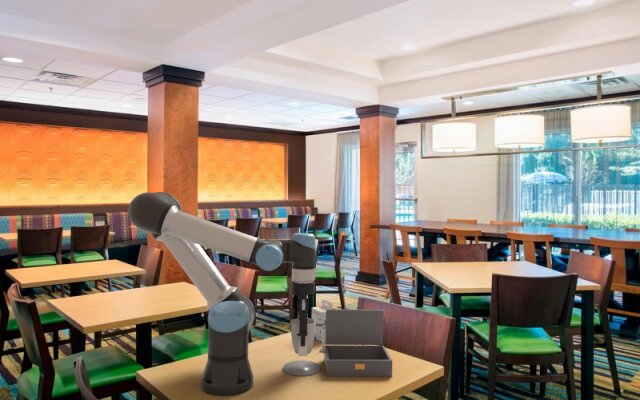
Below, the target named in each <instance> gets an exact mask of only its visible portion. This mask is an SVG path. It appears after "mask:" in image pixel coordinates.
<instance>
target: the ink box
mask: <svg viewBox="0 0 640 400" xmlns="http://www.w3.org/2000/svg"><path fill="white" fill-rule="evenodd" d="M333 305H334V304H333V303H332V302H330V301H329V300H327V299H323V298H322V299H321V306H314V307H311V319H313V320H315V321H316V323H315V335H314V340H317V341H318V340H319V342H320V341H321V342H320V343H322V326H326V309H333ZM325 336H326V329H324V343H325Z"/></svg>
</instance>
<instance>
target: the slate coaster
mask: <svg viewBox="0 0 640 400" xmlns="http://www.w3.org/2000/svg"><path fill="white" fill-rule="evenodd" d="M282 367H283V368H282V369H283V372H285V373H286V374H288V375H291V376H296V377H297V376H298V377H308V376H313V375H316V374H318V373H319V372H320V371H321V365H319V363H317V362H315V361H312V360H302V359H301V360H300V359H299V360H292V361H289V362H286V363H285V364H283V366H282Z"/></svg>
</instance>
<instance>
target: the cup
mask: <svg viewBox="0 0 640 400" xmlns="http://www.w3.org/2000/svg"><path fill="white" fill-rule="evenodd" d="M315 323H316V321H315V320H313V319H312V318H308V317H307V333H308V334H307V355H309V354H311V351H312V348H313V345H314V340H315V338H314V335H315ZM301 332H305V331H301ZM297 334H299V317H298V318H297V317H296V318H293V319H291V320H290V336H291V341H292V343H291V344H292V348H293V350H294V353H295V354H296V355H298V350H299V336H297Z"/></svg>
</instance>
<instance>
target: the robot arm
mask: <svg viewBox="0 0 640 400" xmlns="http://www.w3.org/2000/svg"><path fill="white" fill-rule="evenodd" d="M181 207H182V206H181V204H180V202H179V200H177V198H176V197H174V195H172V194H169V193H168V192H164V191H163V192H162V191H156V192H152V191H151V192H150V191H148V192H142V193H140V194H137V195H136V196H135V197H133V199H132V200H131V201H130V203H129V205H128V210H127V213H128V215H127V216H128V217H129V221H130V222H131V223H132V224H133V226H134V227H136V228H137V229H139V230H142V231H144V232H148V233H150V234H151V236H152V237H153V238H154V240H156V242H157V241H158V242H162V243H164V245H165V246H166V248H167V249H168V251H169V252H170V253H171V254H172V256H173V257H174V258H175V261H177V263H178V264H179V266H180V267H181V268H182V270H183V271H184V272H185V274H186V275H187V276H188V278H189V280H190V281H191V282H192V283H193V285H194V286H195V287H196V288H197V290H198V292H199V293H200V294H201V296H202V298H204V299H205V301H206V303H207V305H206V311H207V313H208V316H207V323H208V328H207V330H208V331H207V332H208V333H207V334H208V335H207V336H208V337H207V360H206V364H205V367H204V370H203V373H202V376H201V380H200V381H201V382H200V389H201V390H202V391H204V392H205V393H208V394H210V395H215V396H233V395H237V394H241V393H242V394H243V393H244V392H247V391H249V390H250V389H251V388H252V387H253V386H254V373H253V369H252V367H251V364H250V360H249V332H250V330H251V328H252V326H253V325H254V322H255V318H256V317H255V316H256V311H255V307H254V304H253V302H252V301H251V300H250V299H249V298H248V297H246V296H244V295H243V294H242V292H241V291H240V290H239V289H238V287H237V286H233V285H232V286H231V285H229V283H228V282H227V280H226V279H225V278H224V276H223V275H222V274H221V272H220V270H219V269H218V268H217V267H216V265H215V264H214V262H213V261H212V260H211V258H210V256H208V255H207V253H206V251H205V250H204V249H203V247H204V248H207V249H210V250H213V251H216V252H218V253H222V254H225V255H227V256H229V257H230V256H231V257H234V258H237V259H239V260H243V261H245V262H248V263H250V264H253V265H256V266H258V267H259V268H260V269H261V270H263V271H267V272H269V271H270V272H271V271H274V270H275V269H277V268H278V267H280V265H282V264H283V263H284V264H285V263H286V264H287V263H289V264H292V266H291V280H292V282H291V293H292V294H293V295H298V297H297V299H296V301H297V302H296V303H297V314H298V315H299V316H298V318H299V334H297V336H299V350H298V354H297V355H298V357H307V356H308V354H307V334H308V333H307V318H308V315H309V310H310V309H309V308H310V307H309V306H310V297H308V295H311V296H312V295H313V294H315V292H316V282H315V280H316V275H317V273H318V271H317V270H316V252H317V251H316V250H317V249H316V247H317V244H316V236H315V235H314V234H313V233H308V232H295V233H293V234H292V237H291V239H278V238H276V239H275V238H273V239H271V238H270V239H268V238H263V239H261V238H258V237H255V236H253V235H250V234H247V233H243V232H241V231H239V230H235V229H232V228H230V227H226V226H224V225H220V224H218V223H215V222H213V221H209V220H207V219H204V218H201V217H198V216H196V215H193V214H190V213H187V212H184V211H182V209H181ZM301 331H305V332H301Z"/></svg>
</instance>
